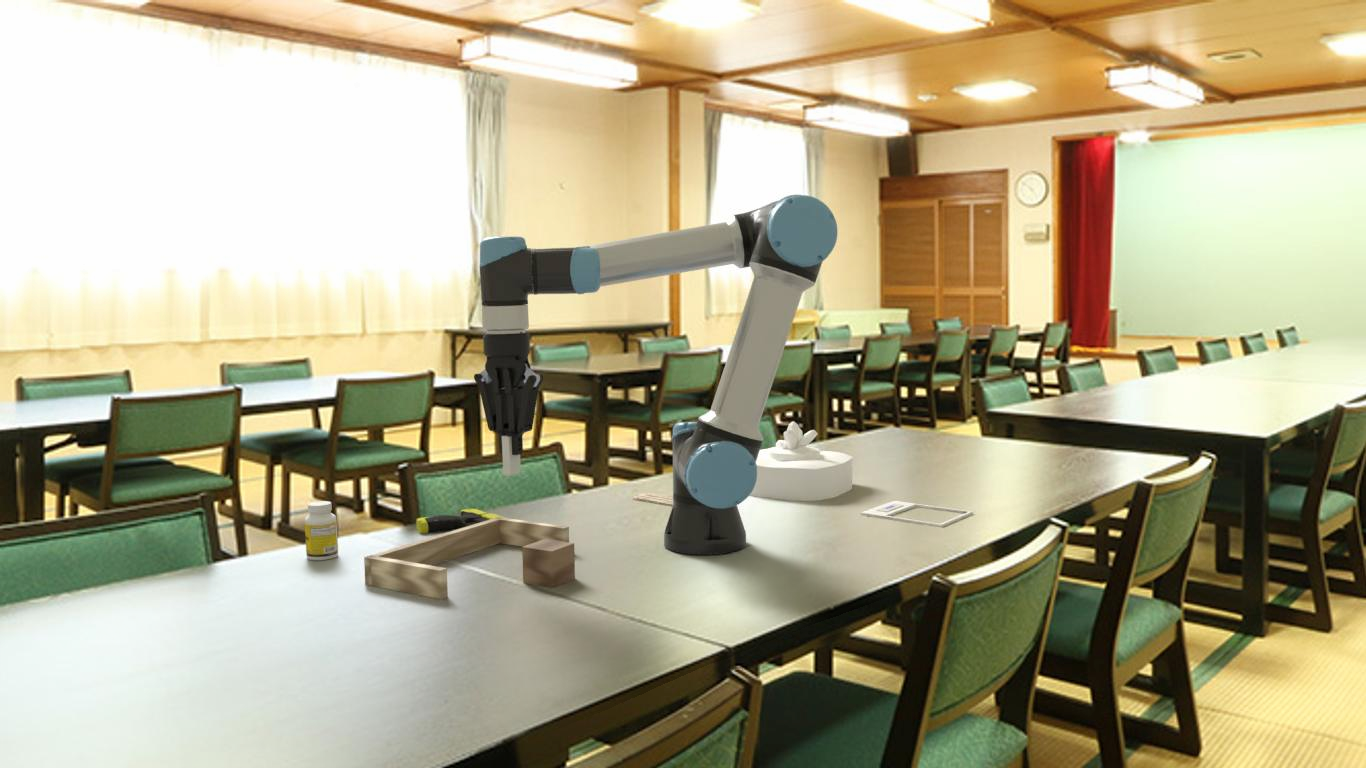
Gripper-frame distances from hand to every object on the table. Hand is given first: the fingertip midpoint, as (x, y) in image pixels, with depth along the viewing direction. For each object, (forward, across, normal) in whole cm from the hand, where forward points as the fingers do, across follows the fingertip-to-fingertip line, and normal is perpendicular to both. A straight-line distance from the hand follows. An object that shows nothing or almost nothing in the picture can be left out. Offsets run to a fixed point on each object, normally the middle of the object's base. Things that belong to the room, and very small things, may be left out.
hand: (512, 473), depth 175 cm
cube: (+17, -7, 0) cm, 19 cm away
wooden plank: (+18, +3, -61) cm, 64 cm away
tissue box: (+18, -11, -88) cm, 90 cm away
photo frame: (+19, -45, -75) cm, 89 cm away
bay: (+17, +9, 0) cm, 19 cm away
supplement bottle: (+17, +38, +8) cm, 42 cm away
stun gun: (+17, +28, -18) cm, 37 cm away
